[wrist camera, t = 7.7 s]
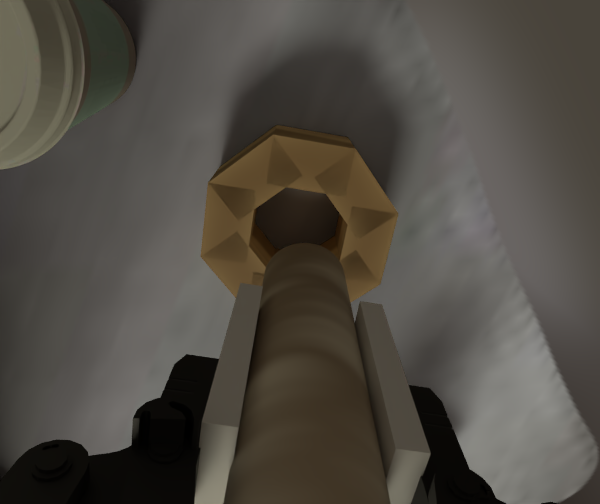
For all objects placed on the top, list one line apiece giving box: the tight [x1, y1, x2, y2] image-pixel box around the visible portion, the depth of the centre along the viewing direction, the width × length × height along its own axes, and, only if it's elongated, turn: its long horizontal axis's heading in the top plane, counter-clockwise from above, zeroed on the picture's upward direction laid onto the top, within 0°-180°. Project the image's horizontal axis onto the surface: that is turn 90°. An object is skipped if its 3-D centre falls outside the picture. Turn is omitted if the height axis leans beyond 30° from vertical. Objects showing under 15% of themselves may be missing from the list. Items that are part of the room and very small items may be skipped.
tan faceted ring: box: [201, 125, 398, 303], centre depth 27 cm, size 10×10×4 cm
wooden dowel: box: [223, 243, 391, 504], centre depth 12 cm, size 4×4×16 cm
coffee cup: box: [0, 0, 136, 170], centre depth 20 cm, size 8×9×12 cm
